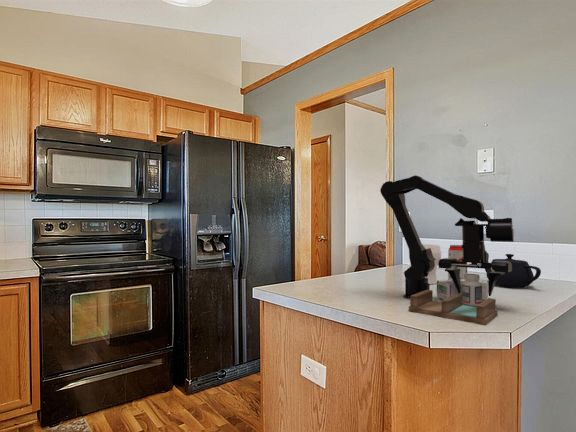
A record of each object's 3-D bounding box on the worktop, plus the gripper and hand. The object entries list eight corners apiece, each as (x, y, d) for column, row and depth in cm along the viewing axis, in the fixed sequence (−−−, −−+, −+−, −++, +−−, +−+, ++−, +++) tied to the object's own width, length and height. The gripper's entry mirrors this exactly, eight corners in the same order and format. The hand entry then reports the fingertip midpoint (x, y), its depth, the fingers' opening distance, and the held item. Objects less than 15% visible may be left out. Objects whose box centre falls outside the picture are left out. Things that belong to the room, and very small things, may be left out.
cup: (444, 285, 137) (444, 246, 137) (415, 284, 139) (415, 245, 139) (437, 280, 148) (437, 244, 148) (410, 279, 150) (410, 243, 150)
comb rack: (408, 310, 98) (408, 295, 98) (425, 303, 107) (425, 289, 107) (486, 325, 85) (486, 307, 85) (497, 315, 94) (497, 299, 94)
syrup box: (488, 281, 113) (447, 282, 110) (488, 300, 113) (447, 301, 110) (475, 278, 118) (436, 279, 115) (475, 296, 118) (436, 297, 115)
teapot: (554, 290, 131) (554, 256, 131) (525, 292, 125) (525, 257, 125) (493, 279, 154) (493, 250, 154) (466, 281, 148) (466, 251, 148)
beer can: (466, 292, 124) (466, 246, 124) (446, 290, 127) (446, 245, 127) (468, 289, 129) (468, 245, 129) (449, 287, 133) (449, 244, 133)
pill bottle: (481, 303, 108) (481, 273, 108) (482, 307, 103) (482, 276, 103) (462, 301, 110) (462, 272, 110) (462, 305, 105) (462, 275, 105)
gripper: (514, 241, 106) (516, 294, 106) (449, 240, 119) (450, 287, 118) (507, 242, 98) (508, 299, 97) (437, 241, 110) (438, 292, 110)
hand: (474, 294), depth 106 cm, fingers open, 8 cm apart
